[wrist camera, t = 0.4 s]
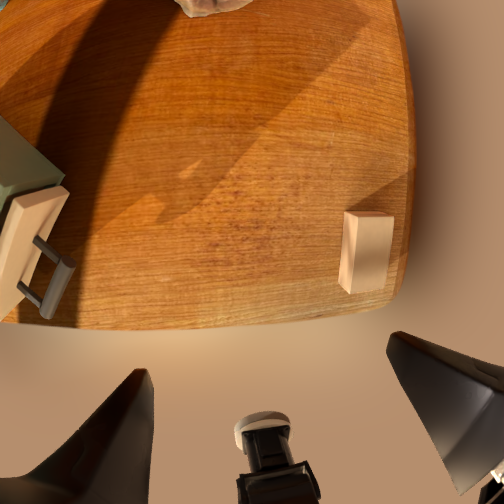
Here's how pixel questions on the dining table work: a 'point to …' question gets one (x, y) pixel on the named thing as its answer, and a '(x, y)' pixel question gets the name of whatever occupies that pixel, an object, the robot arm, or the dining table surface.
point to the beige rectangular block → (365, 250)
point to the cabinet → (23, 165)
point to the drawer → (31, 248)
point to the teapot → (3, 4)
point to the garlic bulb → (210, 6)
